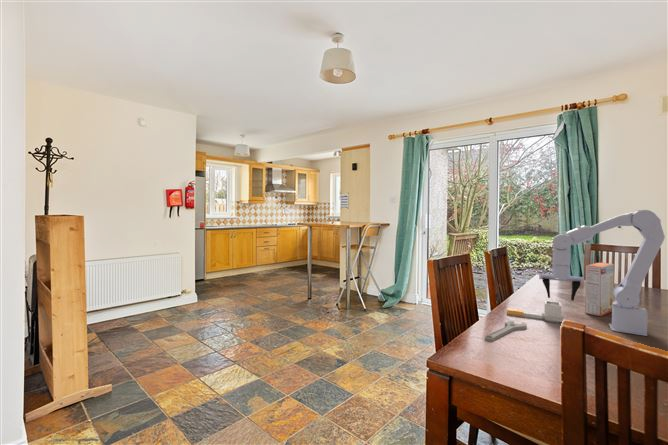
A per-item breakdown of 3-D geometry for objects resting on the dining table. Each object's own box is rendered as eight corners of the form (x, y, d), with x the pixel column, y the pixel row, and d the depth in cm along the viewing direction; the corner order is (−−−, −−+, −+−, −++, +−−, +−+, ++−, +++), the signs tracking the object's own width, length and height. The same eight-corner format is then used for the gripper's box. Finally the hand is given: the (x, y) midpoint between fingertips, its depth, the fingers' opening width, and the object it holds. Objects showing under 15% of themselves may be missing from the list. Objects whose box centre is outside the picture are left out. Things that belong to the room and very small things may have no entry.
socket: (560, 315, 131) (560, 302, 131) (561, 318, 126) (561, 305, 126) (544, 312, 134) (544, 300, 134) (544, 316, 129) (544, 303, 129)
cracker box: (596, 308, 147) (598, 262, 146) (613, 311, 142) (615, 263, 141) (583, 313, 140) (584, 264, 139) (600, 317, 135) (602, 266, 134)
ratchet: (562, 319, 131) (562, 307, 131) (563, 324, 125) (563, 311, 125) (507, 311, 142) (507, 300, 141) (506, 315, 136) (506, 303, 135)
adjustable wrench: (491, 343, 108) (491, 338, 108) (473, 337, 114) (473, 332, 114) (529, 328, 122) (529, 323, 122) (512, 323, 127) (512, 319, 127)
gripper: (582, 264, 129) (582, 299, 130) (539, 262, 137) (539, 294, 137) (584, 267, 123) (584, 303, 124) (539, 264, 131) (538, 297, 132)
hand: (560, 298), depth 130 cm, fingers open, 7 cm apart
